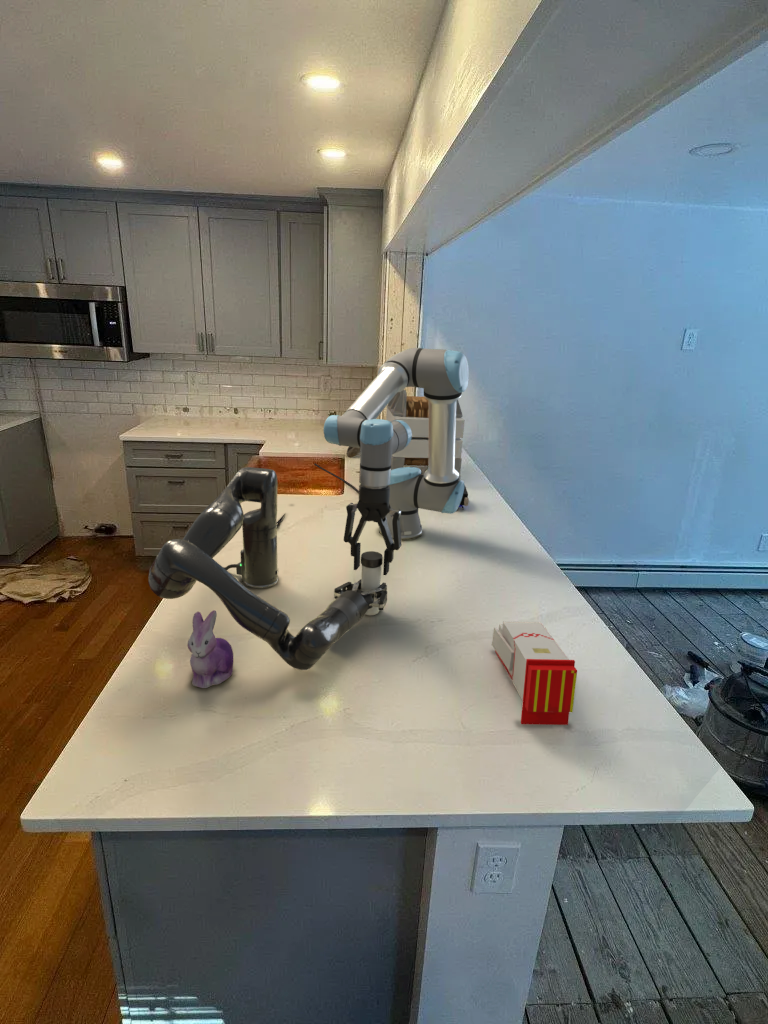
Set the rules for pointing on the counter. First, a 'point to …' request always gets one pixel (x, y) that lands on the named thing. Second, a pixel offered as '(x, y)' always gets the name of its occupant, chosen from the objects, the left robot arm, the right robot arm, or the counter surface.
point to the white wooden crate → (419, 430)
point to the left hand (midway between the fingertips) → (375, 583)
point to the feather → (280, 520)
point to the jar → (370, 583)
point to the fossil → (352, 451)
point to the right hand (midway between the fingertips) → (371, 570)
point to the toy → (537, 671)
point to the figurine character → (464, 499)
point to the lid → (371, 559)
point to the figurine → (209, 653)
